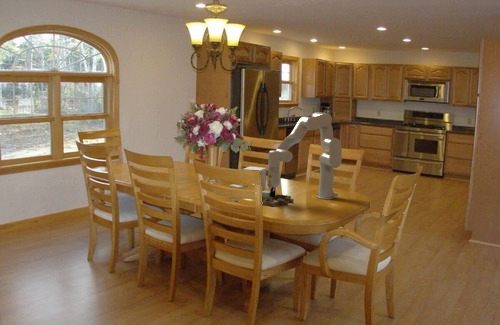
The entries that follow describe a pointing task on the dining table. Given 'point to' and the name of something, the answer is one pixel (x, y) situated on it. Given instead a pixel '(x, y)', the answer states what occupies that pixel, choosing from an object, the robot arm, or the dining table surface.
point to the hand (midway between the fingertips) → (272, 196)
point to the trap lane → (278, 200)
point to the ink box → (235, 187)
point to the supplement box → (263, 176)
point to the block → (266, 195)
